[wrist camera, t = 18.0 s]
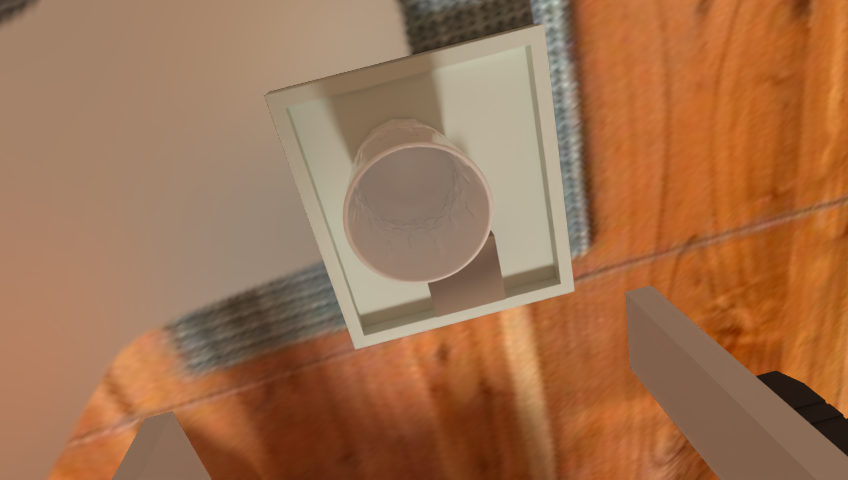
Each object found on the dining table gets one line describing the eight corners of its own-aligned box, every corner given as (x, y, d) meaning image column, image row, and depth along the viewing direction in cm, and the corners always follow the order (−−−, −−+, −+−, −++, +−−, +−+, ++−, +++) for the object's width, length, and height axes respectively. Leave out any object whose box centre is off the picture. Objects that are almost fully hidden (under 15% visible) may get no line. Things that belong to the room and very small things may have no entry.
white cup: (392, 84, 32) (406, 108, 23) (481, 155, 35) (524, 202, 26) (324, 177, 34) (312, 233, 25) (412, 237, 37) (430, 308, 28)
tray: (564, 279, 41) (574, 291, 39) (355, 334, 41) (355, 349, 39) (533, 23, 33) (543, 24, 31) (269, 91, 32) (264, 95, 30)
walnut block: (488, 266, 39) (506, 299, 34) (427, 282, 39) (436, 317, 34) (477, 208, 37) (494, 235, 32) (412, 225, 37) (420, 255, 32)
